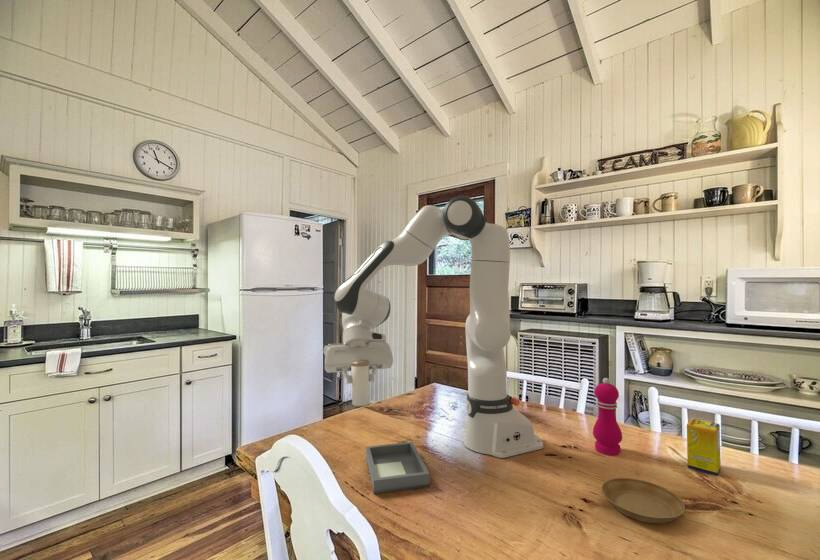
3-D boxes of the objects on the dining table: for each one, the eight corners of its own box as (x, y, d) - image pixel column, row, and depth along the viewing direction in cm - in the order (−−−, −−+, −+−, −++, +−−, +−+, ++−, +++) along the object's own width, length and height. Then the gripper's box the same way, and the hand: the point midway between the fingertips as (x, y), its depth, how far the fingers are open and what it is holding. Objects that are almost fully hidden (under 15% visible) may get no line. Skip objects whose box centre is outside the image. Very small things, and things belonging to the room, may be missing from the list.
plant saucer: (585, 498, 82) (585, 486, 82) (631, 483, 88) (631, 471, 88) (653, 540, 68) (653, 526, 69) (701, 518, 75) (701, 505, 75)
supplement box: (691, 459, 98) (690, 417, 98) (721, 467, 94) (720, 423, 94) (686, 468, 94) (686, 424, 94) (717, 476, 90) (716, 430, 90)
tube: (369, 399, 112) (368, 359, 112) (370, 405, 107) (369, 362, 107) (351, 401, 111) (350, 360, 111) (352, 407, 106) (351, 364, 106)
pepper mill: (626, 457, 100) (625, 381, 100) (597, 455, 101) (595, 380, 102) (617, 445, 107) (616, 375, 107) (590, 444, 108) (588, 374, 109)
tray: (412, 452, 105) (412, 441, 105) (429, 486, 87) (429, 473, 87) (365, 457, 102) (365, 446, 102) (373, 494, 85) (373, 480, 85)
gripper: (323, 338, 114) (323, 378, 104) (390, 334, 118) (396, 373, 108) (323, 350, 118) (323, 390, 108) (388, 346, 122) (394, 384, 113)
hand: (360, 381), depth 108 cm, fingers closed on tube, 5 cm apart
